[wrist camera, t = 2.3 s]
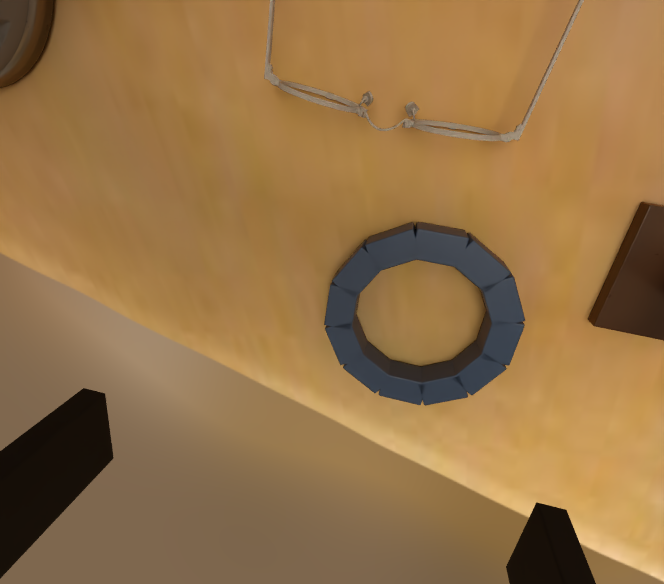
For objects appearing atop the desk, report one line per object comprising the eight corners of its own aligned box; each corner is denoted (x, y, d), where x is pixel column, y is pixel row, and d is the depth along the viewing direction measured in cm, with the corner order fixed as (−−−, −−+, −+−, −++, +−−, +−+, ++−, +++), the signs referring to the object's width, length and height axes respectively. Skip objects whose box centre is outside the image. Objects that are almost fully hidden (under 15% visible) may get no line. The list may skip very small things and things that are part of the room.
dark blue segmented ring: (322, 365, 32) (315, 380, 30) (346, 208, 27) (340, 214, 25) (483, 403, 30) (488, 422, 28) (542, 243, 25) (553, 253, 23)
